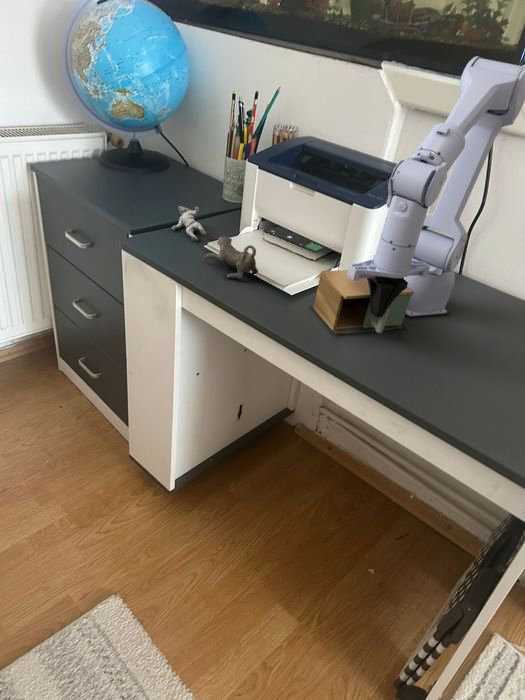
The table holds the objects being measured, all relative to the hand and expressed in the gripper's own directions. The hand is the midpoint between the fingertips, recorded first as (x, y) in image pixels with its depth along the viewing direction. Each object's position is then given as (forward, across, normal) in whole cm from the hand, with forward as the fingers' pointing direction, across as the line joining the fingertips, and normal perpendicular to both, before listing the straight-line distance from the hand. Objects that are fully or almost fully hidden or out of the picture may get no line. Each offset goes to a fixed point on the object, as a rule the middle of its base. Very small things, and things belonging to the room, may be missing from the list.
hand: (376, 314), depth 90 cm
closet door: (+5, -5, -1) cm, 7 cm away
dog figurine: (+5, +16, -28) cm, 33 cm away
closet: (+5, -2, -8) cm, 9 cm away
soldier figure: (+5, +19, -49) cm, 53 cm away
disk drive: (+5, -5, -40) cm, 40 cm away
